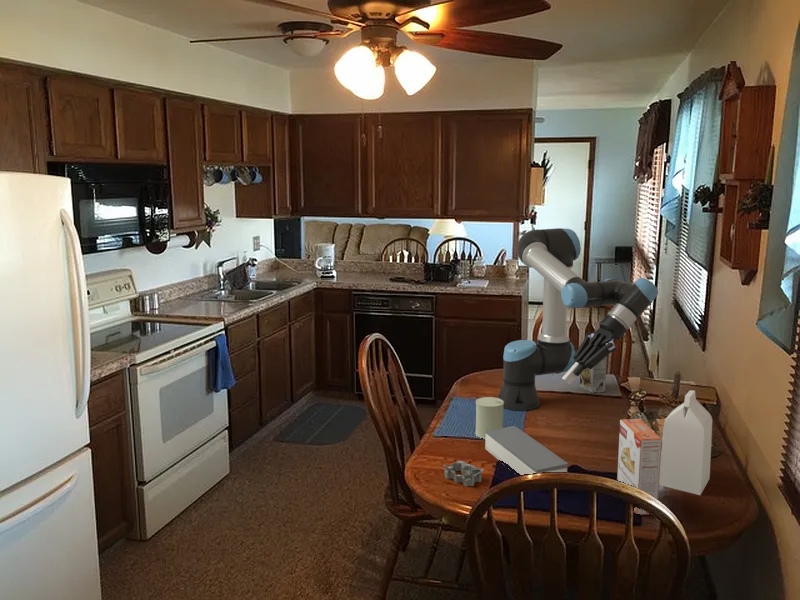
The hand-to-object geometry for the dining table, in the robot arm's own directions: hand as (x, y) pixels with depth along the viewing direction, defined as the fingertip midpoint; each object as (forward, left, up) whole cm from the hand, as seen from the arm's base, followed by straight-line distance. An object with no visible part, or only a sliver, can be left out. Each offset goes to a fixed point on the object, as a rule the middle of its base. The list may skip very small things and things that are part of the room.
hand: (565, 381), depth 205 cm
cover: (+12, -5, -19) cm, 23 cm away
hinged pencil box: (+13, -5, -24) cm, 28 cm away
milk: (-13, +31, -25) cm, 42 cm away
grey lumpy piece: (+32, -11, -25) cm, 42 cm away
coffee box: (-62, -33, -25) cm, 75 cm away
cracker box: (+8, +29, -25) cm, 39 cm away
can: (+3, -28, -25) cm, 37 cm away
